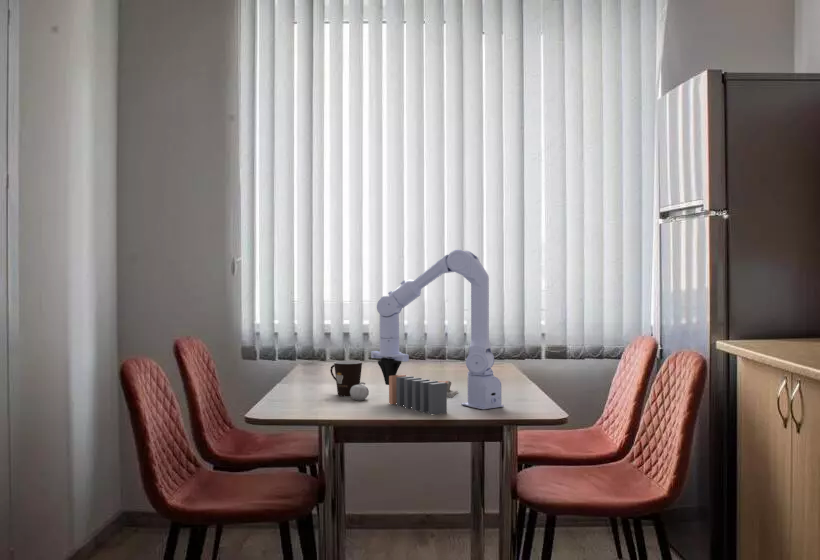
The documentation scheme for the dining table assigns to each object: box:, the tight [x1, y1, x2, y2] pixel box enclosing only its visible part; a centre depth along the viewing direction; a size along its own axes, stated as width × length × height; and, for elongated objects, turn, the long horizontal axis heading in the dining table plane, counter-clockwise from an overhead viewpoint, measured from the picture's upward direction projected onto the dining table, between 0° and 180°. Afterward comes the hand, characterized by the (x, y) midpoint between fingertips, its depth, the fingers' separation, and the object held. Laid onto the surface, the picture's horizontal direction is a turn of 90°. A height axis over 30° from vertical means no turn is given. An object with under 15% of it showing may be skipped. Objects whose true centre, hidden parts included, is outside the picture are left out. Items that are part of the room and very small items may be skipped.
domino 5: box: [419, 381, 438, 413], centre depth 198 cm, size 2×5×8 cm, turn 125°
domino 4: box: [411, 378, 431, 411], centre depth 201 cm, size 2×5×8 cm, turn 125°
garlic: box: [350, 381, 370, 401], centre depth 217 cm, size 6×5×5 cm
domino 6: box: [428, 382, 448, 415], centre depth 195 cm, size 2×5×8 cm, turn 125°
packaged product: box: [429, 379, 459, 398], centre depth 227 cm, size 18×5×10 cm
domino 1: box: [388, 374, 407, 405], centre depth 210 cm, size 2×5×8 cm, turn 125°
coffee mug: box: [330, 360, 363, 397], centre depth 227 cm, size 12×9×10 cm
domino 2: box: [396, 375, 415, 407], centre depth 207 cm, size 2×5×8 cm, turn 125°
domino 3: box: [403, 376, 423, 409], centre depth 204 cm, size 2×5×8 cm, turn 125°
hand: (389, 384), depth 214 cm, fingers closed
